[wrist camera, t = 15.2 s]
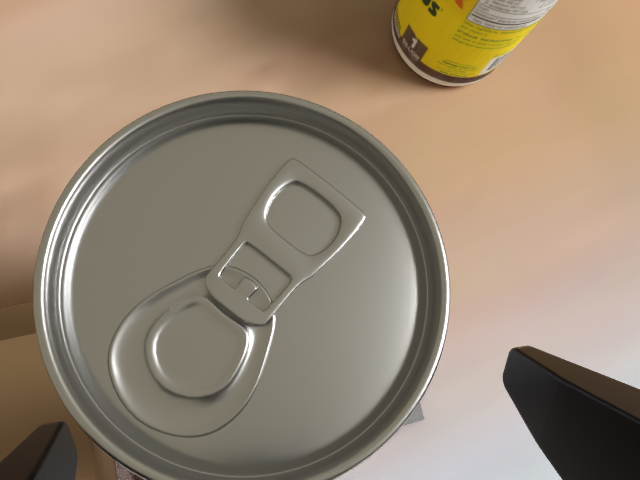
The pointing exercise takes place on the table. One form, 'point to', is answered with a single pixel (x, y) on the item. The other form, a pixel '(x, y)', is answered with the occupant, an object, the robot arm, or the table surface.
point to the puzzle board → (37, 395)
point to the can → (241, 292)
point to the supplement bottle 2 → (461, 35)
